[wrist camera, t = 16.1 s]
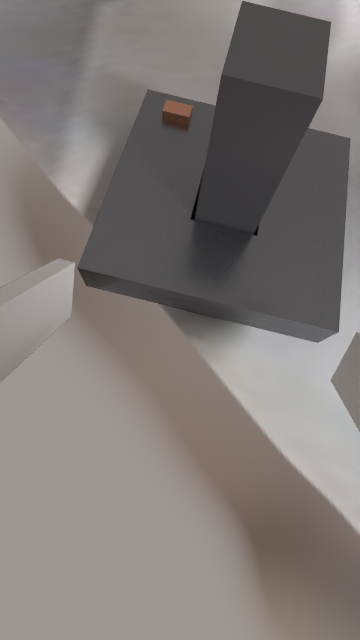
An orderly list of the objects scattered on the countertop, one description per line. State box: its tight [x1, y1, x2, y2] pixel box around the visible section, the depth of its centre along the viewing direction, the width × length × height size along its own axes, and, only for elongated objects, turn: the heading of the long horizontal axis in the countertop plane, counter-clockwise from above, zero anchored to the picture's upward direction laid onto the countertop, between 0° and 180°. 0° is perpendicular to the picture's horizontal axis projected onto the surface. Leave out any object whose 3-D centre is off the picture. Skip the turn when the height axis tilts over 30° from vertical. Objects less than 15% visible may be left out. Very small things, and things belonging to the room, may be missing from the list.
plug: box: [194, 1, 331, 235], centre depth 18 cm, size 4×5×11 cm
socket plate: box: [78, 90, 350, 343], centre depth 22 cm, size 16×16×3 cm
